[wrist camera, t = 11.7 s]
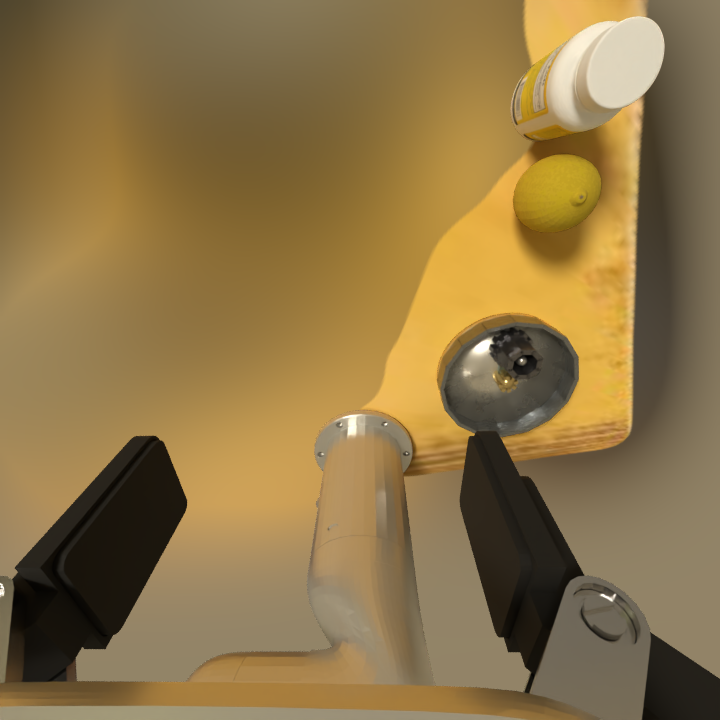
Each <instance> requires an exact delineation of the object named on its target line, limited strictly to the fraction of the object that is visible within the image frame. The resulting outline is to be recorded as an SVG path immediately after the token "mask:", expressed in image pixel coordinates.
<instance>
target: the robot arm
mask: <svg viewBox="0 0 720 720" xmlns="http://www.w3.org/2000/svg"><path fill="white" fill-rule="evenodd" d="M412 453H413V450H412V443H411V439H410V436H409V434H408V432H407V430H406V429H405V428H404V427H403V426H402V425H401V423H399V422H398V421H397V420H395V419H394V418H392V417H390V416H388V415H386V414H383V413H380V412H376V411H369V410H357V411H350V412H346V413H344V414H340V415H338V416H336V417H334V418H333V419H331V420H330V421H329V422H327V423H326V424H325V425H324V426H323V427H322V429H321V430H320V431H319V434H318V436H317V439H316V443H315V458H316V461H317V463H318V465H319V467H320V468H321V470H322V471H323V478H322V484H321V491H320V497H319V498H318V500H317V502H316V505H317V508H318V511H317V518H316V524H315V531H314V538H313V544H312V551H311V558H310V563H309V570H308V578H307V591H308V597H309V602H310V606H311V609H312V611H313V614H314V616H315V618H316V620H317V622H318V624H319V626H320V628H321V629H322V631H323V633H324V634H325V636H326V638H327V639H328V641H329V643H330V644H331V646H332V647H330V648H328V649H324V650H311V651H304V652H303V651H302V652H301V651H298V652H297V651H293V652H292V651H288V652H287V651H285V652H284V651H279V652H277V651H269V652H268V651H266V652H265V651H264V652H263V651H260V652H258V651H256V652H233V653H227V654H222V655H218V656H216V657H213V658H211V659H209V660H207V661H206V662H204V663H203V664H202V665H200V666H199V667H198V668H197V669H196V670H195V671H194V672H193V673H192V674H191V675H190V677H189V678H188V679H187V680H186V682H104V681H101V682H100V681H92V682H91V681H90V682H89V681H77V675H76V656H77V655H78V653H79V651H80V650H81V648H82V647H83V648H84V649H106V647H107V645H108V643H109V642H110V640H111V638H112V636H113V635H115V634H116V633H118V632H119V631H120V630H121V628H122V626H123V625H124V623H125V621H126V619H127V617H128V616H129V614H130V612H131V610H132V608H133V606H134V605H135V603H136V601H137V599H138V597H139V596H140V594H141V592H142V590H143V588H144V586H145V585H146V583H147V581H148V579H149V577H150V575H151V574H152V572H153V570H154V568H155V566H156V564H157V563H158V561H159V559H160V557H161V555H162V553H163V552H164V550H165V548H166V546H167V544H168V542H169V541H170V538H171V537H172V535H173V533H174V532H175V530H176V528H177V526H178V524H179V522H180V520H181V518H182V517H183V515H184V513H185V511H186V508H187V499H186V496H185V494H184V492H183V489H182V487H181V484H180V481H179V479H178V476H177V474H176V471H175V469H174V467H173V464H172V462H171V459H170V456H169V454H168V451H167V449H166V447H165V444H164V442H163V441H160V440H159V438H158V437H156V436H136V437H133V438H132V439H131V440H130V441H129V442H128V443H127V444H126V445H125V446H124V447H123V449H122V450H121V451H120V452H119V453H118V454H117V455H116V456H115V457H114V459H113V460H112V461H111V462H110V463H109V464H108V465H107V466H106V467H105V468H104V470H103V471H102V472H101V473H100V474H99V475H98V476H97V477H96V478H95V480H94V481H93V482H92V483H91V484H90V485H89V486H88V487H87V488H86V489H85V491H84V492H83V493H82V494H81V495H80V496H79V497H78V498H77V499H76V500H75V502H74V503H73V504H72V505H71V506H70V507H69V508H68V509H67V511H66V512H65V513H64V514H63V515H62V516H61V517H60V518H59V519H58V520H57V521H56V523H55V524H54V525H53V526H52V527H51V528H50V529H49V530H48V532H47V533H46V534H45V535H44V536H43V537H42V538H41V539H40V540H39V541H38V543H37V544H36V545H35V546H34V547H33V548H32V549H31V550H30V551H29V552H28V553H27V555H26V556H25V557H24V558H23V559H22V560H21V561H20V562H19V564H18V565H17V566H16V567H15V569H16V570H17V571H18V573H17V574H16V576H15V577H14V578H13V579H10V578H9V577H7V576H0V720H720V679H719V678H718V677H716V676H715V675H713V674H712V673H710V672H709V671H707V670H706V669H704V668H703V667H701V666H700V665H698V664H697V663H695V662H694V661H692V660H691V659H689V658H688V657H686V656H685V655H683V654H682V653H680V652H679V651H677V650H676V649H675V648H673V647H671V646H670V645H669V644H667V643H666V642H664V641H663V640H661V639H660V638H658V637H657V636H655V635H654V634H652V633H651V632H650V628H649V625H648V623H647V621H646V618H645V616H644V614H643V613H642V611H641V610H640V609H639V607H638V606H637V604H636V603H635V602H634V601H633V600H632V599H631V598H630V597H629V596H628V595H627V594H626V593H625V592H623V591H622V590H621V589H619V588H618V587H616V586H615V585H613V584H612V583H609V582H607V581H605V580H603V579H601V578H597V577H593V576H584V574H583V572H582V570H581V568H580V567H579V565H578V563H577V561H576V559H575V557H574V555H573V554H572V552H571V550H570V548H569V546H568V544H567V543H566V541H565V539H564V537H563V535H562V533H561V532H560V530H559V528H558V526H557V524H556V522H555V521H554V519H553V517H552V515H551V513H550V511H549V509H548V508H547V506H546V504H545V502H544V500H543V499H542V497H541V495H540V493H539V491H538V490H537V487H536V486H535V484H534V482H533V481H532V480H531V478H529V477H526V476H520V475H519V473H518V471H517V469H516V467H515V466H514V463H513V461H512V459H511V457H510V455H509V454H508V452H507V450H506V448H505V446H504V444H503V442H502V440H501V438H500V436H499V434H498V433H497V432H496V431H476V433H475V436H470V437H469V439H468V446H467V453H466V459H465V466H464V473H463V480H462V486H461V493H460V507H461V512H462V515H463V519H464V523H465V526H466V529H467V533H468V537H469V540H470V544H471V547H472V551H473V555H474V558H475V562H476V565H477V569H478V572H479V576H480V580H481V583H482V587H483V590H484V594H485V597H486V601H487V605H488V608H489V612H490V615H491V618H492V622H493V626H494V629H495V632H496V634H497V636H498V637H504V639H505V643H506V646H507V649H508V652H520V653H521V656H522V659H523V662H524V665H525V667H526V668H527V669H528V670H529V671H530V674H529V677H528V680H527V683H526V685H525V688H524V691H523V692H518V691H509V690H499V689H488V688H477V687H475V688H474V687H450V686H449V687H448V686H436V685H435V681H434V677H433V673H432V669H431V664H430V661H429V656H428V652H427V647H426V643H425V637H424V631H423V625H422V620H421V614H420V607H419V600H418V593H417V585H416V577H415V568H414V561H413V551H412V543H411V535H410V527H409V518H408V510H407V502H406V493H405V485H404V476H403V473H404V472H405V471H406V469H407V468H408V466H409V465H410V462H411V459H412Z"/></svg>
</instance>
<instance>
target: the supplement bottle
mask: <svg viewBox="0 0 720 720" xmlns="http://www.w3.org/2000/svg"><path fill="white" fill-rule="evenodd" d="M663 57H664V38H663V34H662V32H661V30H660V28H659V26H658V25H657V24H656V23H655V22H654V21H652V20H651V19H649V18H646V17H631V18H627V19H625V20H622V21H620V22H616V21H605V22H600V23H596V24H594V25H591V26H589V27H587V28H586V29H584V30H582V31H580V32H579V33H577V34H576V35H574V36H573V37H572V38H570V39H569V40H568V41H566V42H565V43H563V44H562V45H561V46H559V47H558V48H556V49H555V50H554V51H552V52H551V53H549V54H548V55H547V56H545V57H544V58H542V59H541V60H540V61H538V62H537V63H536V64H534V65H533V66H532V67H531V68H530V69H529V70H528V71H527V72H526V73H525V74H524V75H523V77H522V78H521V80H520V81H519V83H518V85H517V87H516V89H515V91H514V94H513V97H512V102H511V117H512V122H513V125H514V127H515V129H516V130H517V132H518V133H519V134H520V135H521V136H522V137H524V138H526V139H528V140H531V141H545V140H550V139H554V138H558V137H562V136H567V135H571V134H575V133H579V132H584V131H588V130H591V129H594V128H596V127H599V126H601V125H603V124H604V123H606V122H607V121H609V120H610V119H611V118H613V117H614V116H615V115H616V114H617V113H618V112H619V111H620V110H621V109H622V108H624V107H626V106H628V105H630V104H632V103H633V102H635V101H636V100H638V99H639V98H640V97H641V96H642V95H643V94H644V93H645V92H646V91H647V90H648V89H649V88H650V86H651V85H652V83H653V82H654V80H655V79H656V77H657V75H658V73H659V70H660V68H661V64H662V61H663Z"/></svg>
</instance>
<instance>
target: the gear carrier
mask: <svg viewBox="0 0 720 720" xmlns="http://www.w3.org/2000/svg"><path fill="white" fill-rule="evenodd" d="M510 328H515V329H516V330H517V331H519V330H520V329H521V330H523V331H524V332H525V333H526V334H527V335H528V336H529V337H530V338H531V339H532V341H533V344H531V345H532V346H533V347H534V348H535V350H536V351H537V352H538V353H539V354H540V355H541V356H542V357H543V358H544V359H543V363H542V368H541V371H540V372H538V373H537V374H536V375H534V376H533V377H531V378H530V379H521V380H515V379H514V378H513V377H512V376H511V375H510V374H509V373H508V372H507V371H506V370H505V368H504V367H501V366H499V365H498V364H497V362H495V361H494V360H493V358H492V357H491V355H490V353H491V351H490V349H489V345H490V344H493V340H492V338H493V337H494V336H497V337H498V336H499V335H501V334H500V331H502V330H505V331H509V330H510ZM515 362H516V363H517V364H518V365H520V366H524V365H525V364H526V363H527V358H526V357H525V356H524V355H522V356H520V357H519V358H518V359H516V360H515ZM578 380H579V366H578V355H577V354H576V352H575V350H574V349H573V347H572V345H571V344H570V342H569V340H568V339H567V337H566V336H564V335H563V334H562V333H561V332H559V331H558V330H557V329H555V328H553V327H552V326H550V325H549V324H547V323H546V322H544V321H543V320H541V319H539V318H536V317H534V316H530V315H527V314H521V313H504V314H497V315H492V316H489V317H486V318H483V319H481V320H479V321H477V322H474V323H473V324H471V325H469V326H468V327H466V328H465V329H464V330H462V331H461V332H460V333H459V334H458V335H456V336H455V337H454V338H453V340H452V341H451V342H450V343H449V344H448V346H447V347H446V349H445V350H444V352H443V354H442V356H441V359H440V362H439V365H438V370H437V383H438V388H439V391H440V396H441V400H442V403H443V406H444V409H445V411H446V412H447V413H448V414H449V415H450V417H451V418H452V419H453V420H454V421H455V422H456V424H457V425H458V426H460V427H462V428H464V429H466V430H469V431H471V432H473V433H476V431H496V432H497V433H498V434H499V436H500V437H505V436H510V435H515V434H519V433H524V432H528V431H530V430H532V429H533V428H535V427H537V426H539V425H541V424H543V423H545V422H547V421H549V420H550V419H551V418H552V417H553V416H554V415H555V414H556V413H557V412H558V411H559V410H560V409H561V408H562V407H563V406H564V405H565V404H566V403H567V402H568V401H569V399H570V397H571V395H572V393H573V391H574V389H575V386H576V384H577V382H578Z"/></svg>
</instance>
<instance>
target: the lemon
mask: <svg viewBox="0 0 720 720" xmlns="http://www.w3.org/2000/svg"><path fill="white" fill-rule="evenodd" d="M600 193H601V177H600V175H599V173H598V170H597V169H596V168H595V166H594V165H593V164H592V163H591V162H590V161H588V160H586V159H584V158H582V157H580V156H577V155H571V154H558V155H552V156H549V157H547V158H544V159H541V160H539V161H538V162H536V163H535V164H534V165H532V166H531V167H530V168H529V169H528V170H527V171H526V172H525V173H524V174H523V175H522V176H521V178H520V180H519V181H518V183H517V185H516V188H515V191H514V196H513V207H514V210H515V213H516V216H517V217H518V219H519V220H520V221H521V222H522V223H523V224H524V225H525V226H527V227H528V228H530V229H532V230H535V231H538V232H548V233H554V232H559V231H563V230H567V229H570V228H572V227H574V226H576V225H578V224H579V223H580V222H582V221H583V220H584V219H586V218H587V217H588V215H589V214H590V213H591V212H592V211H593V209H594V208H595V206H596V204H597V202H598V200H599V197H600Z"/></svg>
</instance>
